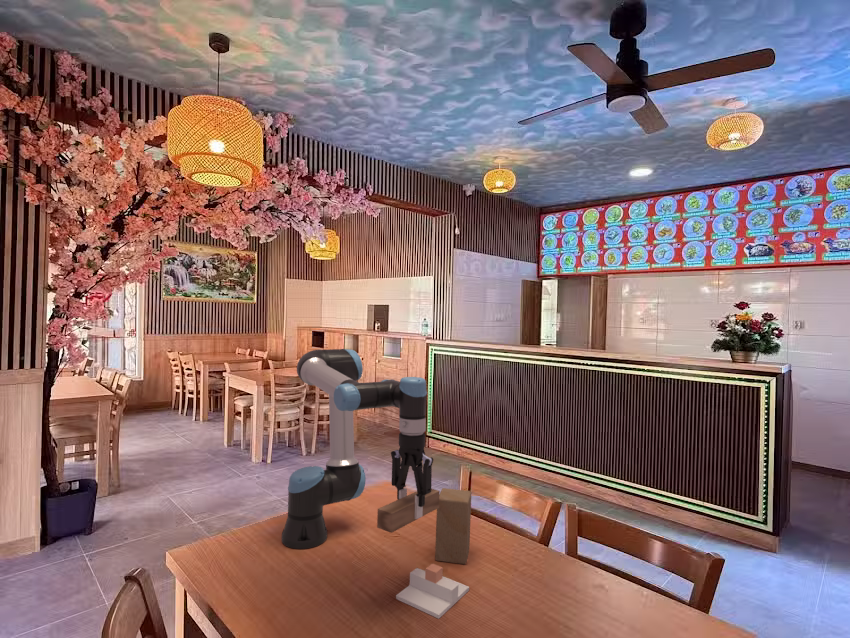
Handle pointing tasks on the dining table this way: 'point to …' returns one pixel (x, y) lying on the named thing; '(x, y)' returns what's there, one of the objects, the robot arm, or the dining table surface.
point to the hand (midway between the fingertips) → (410, 514)
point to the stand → (432, 591)
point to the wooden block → (453, 526)
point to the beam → (404, 511)
